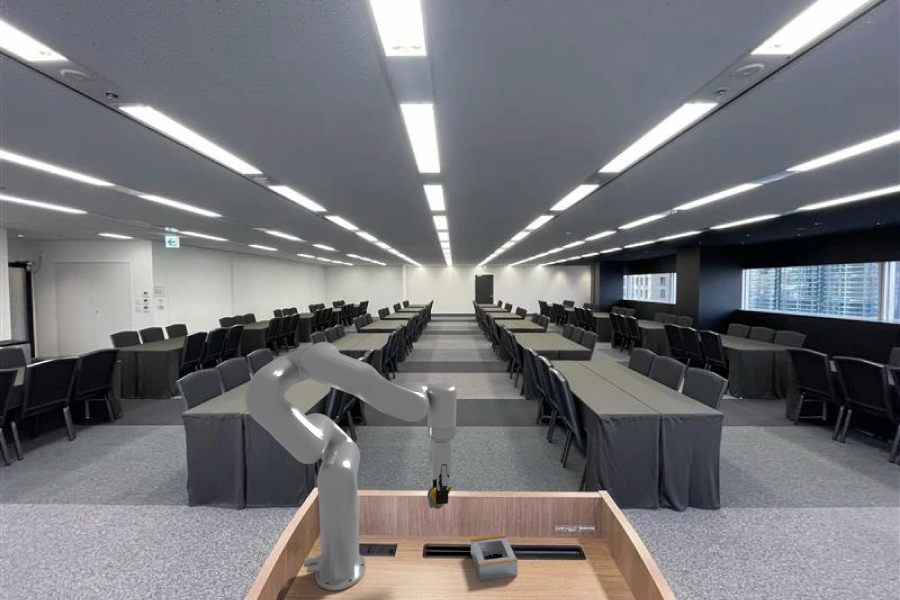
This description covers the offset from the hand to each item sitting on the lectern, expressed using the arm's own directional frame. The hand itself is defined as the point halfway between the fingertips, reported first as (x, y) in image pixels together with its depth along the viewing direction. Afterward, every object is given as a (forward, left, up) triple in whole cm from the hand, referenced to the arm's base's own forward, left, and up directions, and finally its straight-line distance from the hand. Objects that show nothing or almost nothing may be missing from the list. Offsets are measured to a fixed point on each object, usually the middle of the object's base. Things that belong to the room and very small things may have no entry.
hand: (440, 496), depth 104 cm
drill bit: (0, 0, -3) cm, 3 cm away
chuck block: (+14, -4, -18) cm, 23 cm away
